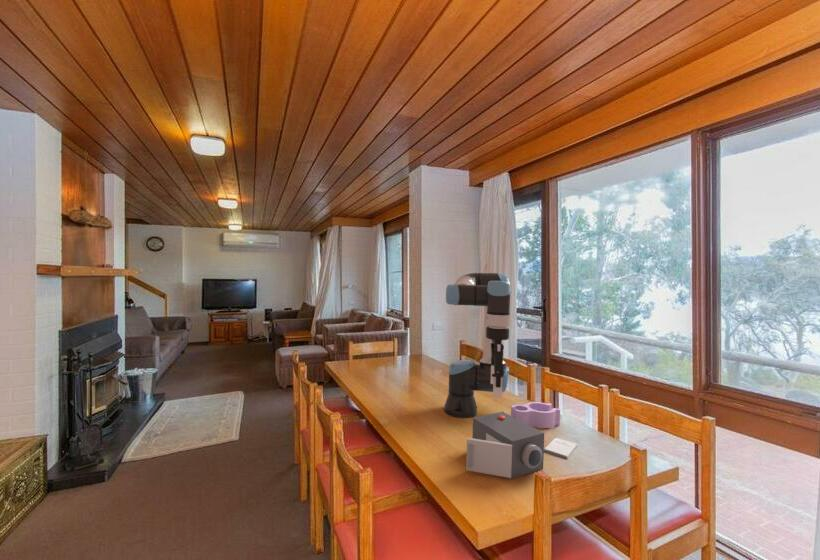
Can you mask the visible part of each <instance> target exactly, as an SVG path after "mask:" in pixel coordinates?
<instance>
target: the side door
mask: <svg viewBox="0 0 820 560" xmlns="http://www.w3.org/2000/svg"><path fill="white" fill-rule="evenodd" d="M465 464H466V467H465V469H466V471H470V472H476V473H481V474H486V475H492V476H498V477H504V478H509V479H511V465H512V445H511V444H505V443H499V442H492V441H486V440H480V439H473V438H472V437H466V463H465Z"/></svg>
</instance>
